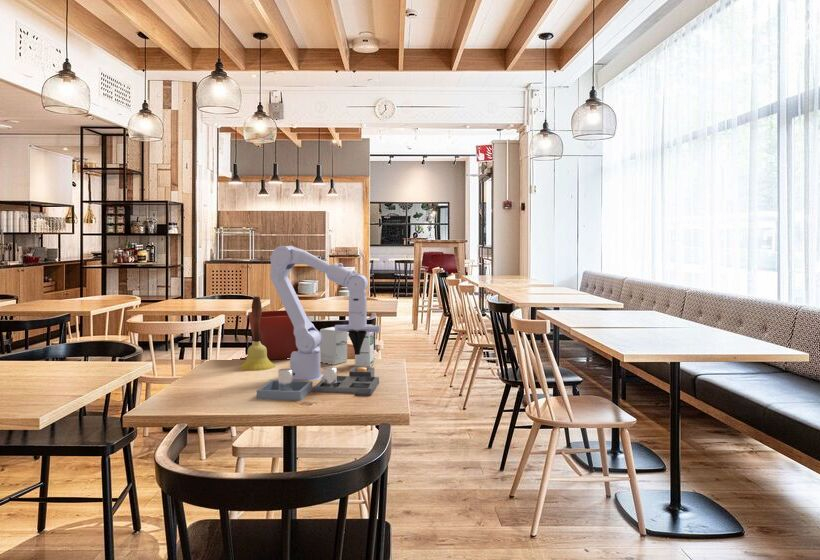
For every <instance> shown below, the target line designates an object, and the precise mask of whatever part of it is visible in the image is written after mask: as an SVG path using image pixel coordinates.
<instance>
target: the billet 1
mask: <svg viewBox="0 0 820 560" xmlns="http://www.w3.org/2000/svg"><path fill="white" fill-rule="evenodd" d="M277 373H278V375H277V376H278V377H277V378H278V379H277V380H278V387H279V391H293V381H294V379H293V376H292V369H290V368H281V369H280V368H279V369H278V371H277Z"/></svg>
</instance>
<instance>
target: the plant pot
mask: <svg viewBox="0 0 820 560" xmlns="http://www.w3.org/2000/svg"><path fill="white" fill-rule="evenodd" d="M247 314H248V321H249V326H250V332H251V335H252V339H253V340H254V320H253V317H252V311H249V312H248V313H247ZM260 342H261V344H262V345H264V346H265V347H266V349H267V358H268V359H269V360H270V361H273V360H282V359H283V360H284V359H290V358H291V354H292V352H293V351H298V348H297V346H296V338H295V336H294V326H293V324H292V322H291V320H290V318H289V316H288V313H287V311H286V309H285V310H262V314H261V318H260Z"/></svg>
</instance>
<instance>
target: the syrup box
mask: <svg viewBox="0 0 820 560" xmlns="http://www.w3.org/2000/svg"><path fill="white" fill-rule="evenodd" d="M367 325H371V323H370V324H367ZM374 334H375V332H367V333H366V336H365V338H364V340H363V343H362V346H361V351H360V354H359V355H355V354H354V367H371V366H372V365H374V364H375V336H374Z"/></svg>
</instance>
